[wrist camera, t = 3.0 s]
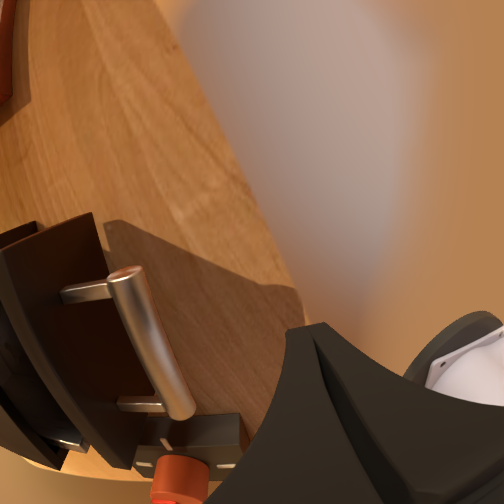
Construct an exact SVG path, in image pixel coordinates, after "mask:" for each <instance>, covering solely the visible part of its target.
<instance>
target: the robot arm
mask: <svg viewBox="0 0 504 504" xmlns="http://www.w3.org/2000/svg"><path fill="white" fill-rule="evenodd" d="M285 337H286V348H285V356H284V361H283V366H282V371H281V375H280V378H279V381H278V384H277V388H276V391H275V394H274V397H273V399H272V402H271V404H270V407H269V409H268V411H267V413H266V416H265V418H264V420H263V422H262V424H261V426H260V427H259V429H258V431H257V433H256V435H255V437H254V438H253V440H252V442H251V443H250V445H249V447H248V448H247V450H246V451H245V453H244V454H243V456H242V457H241V458H240V460H239V461H238V463H237V464H236V465H235V467H234V468H233V469H232V471H231V472H230V473H229V475H228V476H227V477H226V478H225V480H224V481H223V482H222V483H221V484H220V485H219V486H218V487H217V488H216V490H215V491H214V492H213V493H212V494H211V495H210V496H209V497H208V498H207V499H206V500H205V501H204V502H203V503H202V504H504V326H502V327H500V328H498V329H497V330H495V331H493V332H491V333H490V334H488V335H486V336H484V337H482V338H480V339H478V340H476V341H474V342H472V343H470V344H468V345H466V346H464V347H462V348H460V349H458V350H456V351H454V352H452V353H449V354H447V355H445V356H443V357H440V358H438V359H436V360H434V361H433V362H432V364H431V366H430V369H429V373H428V377H427V380H426V384H425V387H423V386H421V385H418V384H416V383H414V382H412V381H410V380H407V379H405V378H403V377H401V376H399V375H397V374H395V373H394V372H392V371H390V370H388V369H386V368H385V367H383V366H382V365H380V364H378V363H377V362H375V361H374V360H373V359H371V358H369V357H368V356H367V355H365V354H364V353H363V352H361V351H360V350H359V349H357V348H356V347H355V346H353V345H352V344H351V343H349V342H348V341H347V340H345V339H344V338H343V337H342V336H341V335H339V334H338V333H337V332H336V331H335V330H334V329H333V328H331V327H330V326H329V325H328V324H327V323H325V322H322V323H318V324H313V325H308V326H303V327H298V328H293V329H288V330H287V331H286V332H285Z"/></svg>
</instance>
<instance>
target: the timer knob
mask: <svg viewBox="0 0 504 504" xmlns="http://www.w3.org/2000/svg"><path fill="white" fill-rule="evenodd" d="M208 482H209V468H208V466H207V465H206V464H204V463H203V462H201V461H199V460H197V459H194V458H191V457H187V456H182V455H164V456H161V457H160V458H159V459H158V461H157V465H156V470H155V474H154V479H153V483H152V488H151V493H150V497H151V498H152V500H151V502H152V503H153V504H202V503H203V502H204V501H205V500H206V499H207V495H208Z"/></svg>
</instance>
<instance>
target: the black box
mask: <svg viewBox="0 0 504 504" xmlns="http://www.w3.org/2000/svg"><path fill="white" fill-rule="evenodd" d="M37 232H38V230H37V226H36V222H35V221H32V222H29V223H27V224H24V225H21V226H19V227H16V228H14V229H11V230H9V231H6V232H4V233H1V234H0V249H2V248H4V247H6V246H8V245H10V244H13V243H15V242H17V241H19V240H21V239H23V238H26V237H28V236H30V235H32V234H35V233H37ZM0 446H2V447H4V448H6V449H8V450H10V451H12V452H14V453H16V454H18V455H20V456H23V457H25V458H27V459H30V460H32V461H34V462H37V463H39V464H42V465H45V466H47V467H50V468H53V469H56V470H59V471H60V470H61V468H62V465H63V463H64V462H63V461H65V458H66V456H67V454H68V452H69V449H65V448H61V447H58V446H54V445H51V444H47V443H45V442H44V441H43V440H42V439H41V438H40V437H39V435H38V434H37V433H36V432H35V431H34V430H33V428H32V427H31V426H30V425H29V424H28V422H27V421H26V420H25V419H24V417H23V416H22V415H21V414H20V412H19V411H18V410H17V408H16V407H15V406H14V404H13V403H12V402H11V400H10V399H9V397H8V396H7V394H6V393H5V392H4V390H3V389H2V387H1V386H0Z"/></svg>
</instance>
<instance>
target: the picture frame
mask: <svg viewBox="0 0 504 504" xmlns="http://www.w3.org/2000/svg"><path fill="white" fill-rule="evenodd" d="M15 6H16V0H0V106H1V105H2V104H3V103H4V102H5V101H6V100H7V99H9V98H10V97H11V96H12V76H11V52H12V33H13V22H14V13H15Z"/></svg>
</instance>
